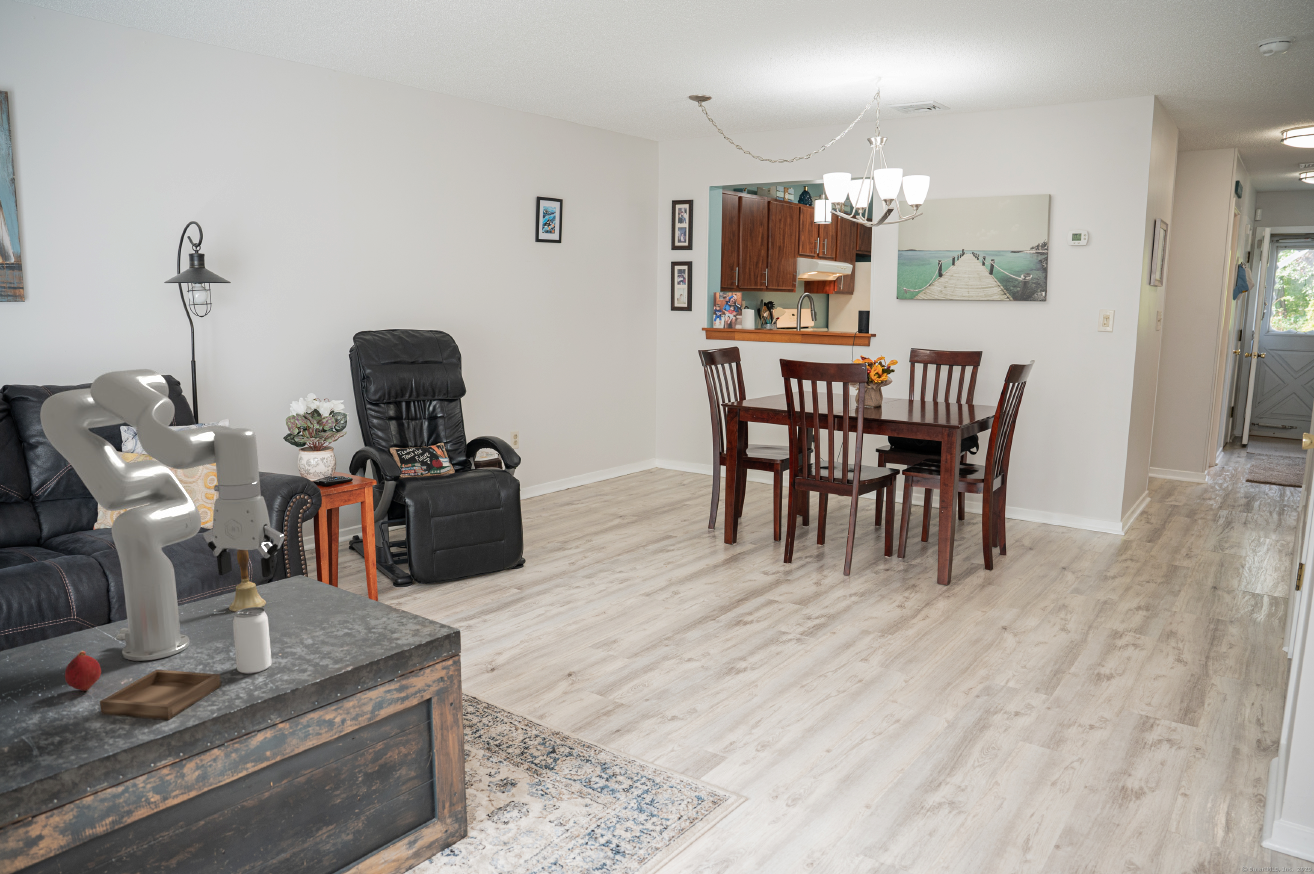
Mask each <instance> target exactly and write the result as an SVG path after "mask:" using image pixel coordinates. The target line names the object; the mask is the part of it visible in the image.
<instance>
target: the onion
mask: <svg viewBox="0 0 1314 874" xmlns="http://www.w3.org/2000/svg"><path fill="white" fill-rule="evenodd" d="M86 653H87V652H86V651H84V650H81V651H80V652H79V653H78V654H77V655H76V656H75V657H74V658H73V659H71V660H70V662H69V663H68V664H67V666H66V667H65V673H64V679H65V682H66V684H67V685H68V686H70V687H71V688H73V689H75V690H79V691H81V692H86V691H89V690H90V689H91V688H92V686H94V684H96V683H97V681H99V679H100V677H101V674H102V668H101V664H100V662H98V660H97V659H96V658H94V657H92V656H90V655H87V654H86Z"/></svg>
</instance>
